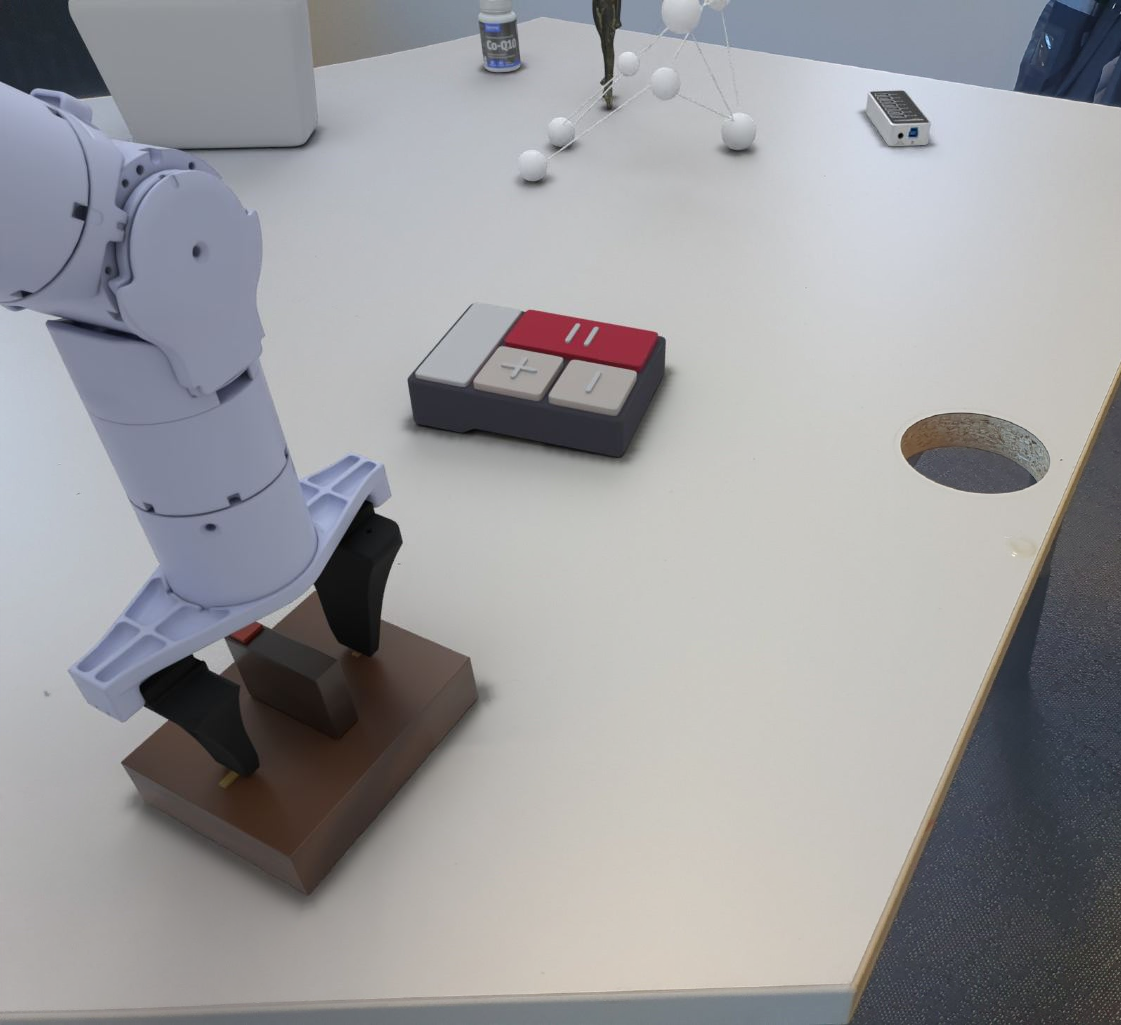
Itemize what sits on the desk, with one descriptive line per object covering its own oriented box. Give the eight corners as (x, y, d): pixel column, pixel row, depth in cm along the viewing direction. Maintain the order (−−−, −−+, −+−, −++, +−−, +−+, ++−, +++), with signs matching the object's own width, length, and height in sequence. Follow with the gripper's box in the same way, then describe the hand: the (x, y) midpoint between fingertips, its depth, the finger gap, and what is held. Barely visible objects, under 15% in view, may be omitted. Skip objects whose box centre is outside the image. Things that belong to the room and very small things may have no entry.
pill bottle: (488, 75, 126) (478, 2, 120) (481, 64, 129) (472, -7, 124) (524, 71, 127) (517, -1, 122) (517, 60, 130) (509, -10, 125)
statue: (580, 112, 115) (566, -86, 102) (591, 94, 120) (579, -97, 107) (620, 114, 115) (611, -85, 102) (629, 96, 120) (622, -97, 107)
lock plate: (308, 895, 42) (288, 855, 40) (144, 800, 46) (118, 759, 44) (479, 696, 50) (470, 655, 48) (328, 629, 54) (313, 587, 52)
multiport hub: (902, 110, 115) (905, 89, 114) (928, 145, 107) (932, 123, 106) (864, 111, 115) (867, 91, 114) (888, 146, 107) (891, 125, 105)
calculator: (622, 413, 63) (402, 370, 65) (621, 466, 65) (411, 423, 68) (668, 327, 71) (471, 292, 73) (665, 377, 73) (476, 342, 76)
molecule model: (765, 188, 103) (776, 20, 88) (523, 209, 102) (492, 42, 87) (745, 107, 111) (752, -60, 96) (520, 125, 109) (492, -41, 95)
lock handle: (359, 717, 45) (338, 656, 43) (338, 740, 44) (314, 678, 42) (271, 674, 47) (245, 612, 45) (248, 694, 46) (220, 633, 44)
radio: (341, 122, 113) (283, -139, 97) (325, 149, 107) (260, -125, 91) (145, 126, 112) (53, -136, 96) (117, 153, 106) (14, -122, 90)
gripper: (275, 350, 43) (345, 575, 52) (-47, 550, 33) (107, 785, 42) (402, 392, 41) (453, 621, 49) (93, 623, 31) (226, 856, 40)
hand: (301, 701), depth 46 cm, fingers open, 7 cm apart
